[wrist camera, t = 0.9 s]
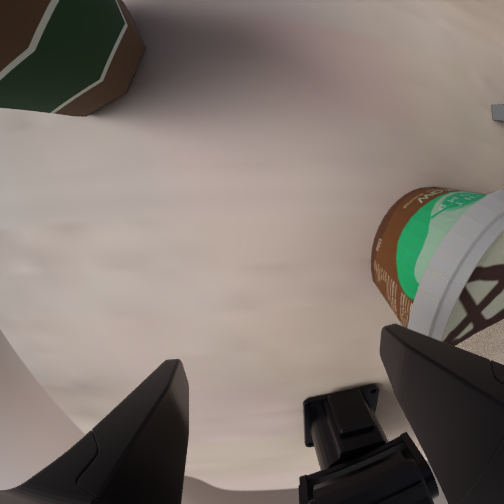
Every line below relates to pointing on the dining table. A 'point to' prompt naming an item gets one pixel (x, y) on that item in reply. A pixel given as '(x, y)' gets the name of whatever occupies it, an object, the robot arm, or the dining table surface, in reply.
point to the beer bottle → (66, 54)
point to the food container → (442, 261)
